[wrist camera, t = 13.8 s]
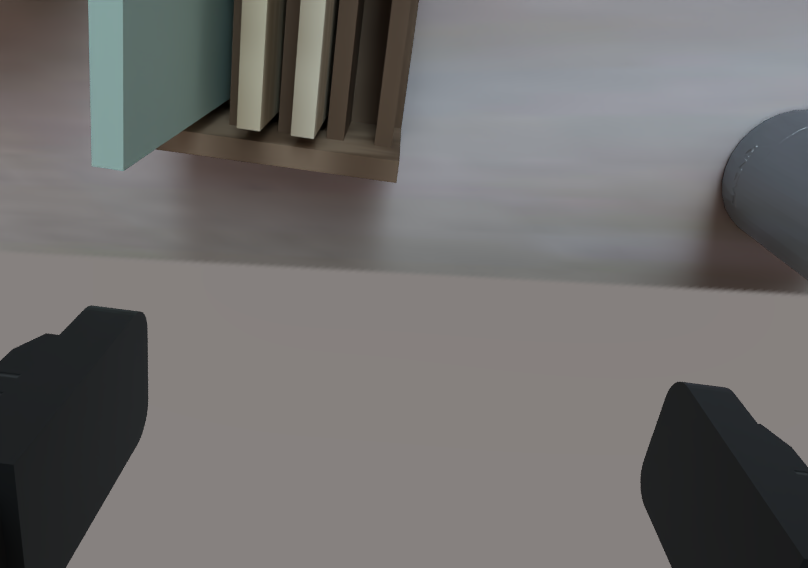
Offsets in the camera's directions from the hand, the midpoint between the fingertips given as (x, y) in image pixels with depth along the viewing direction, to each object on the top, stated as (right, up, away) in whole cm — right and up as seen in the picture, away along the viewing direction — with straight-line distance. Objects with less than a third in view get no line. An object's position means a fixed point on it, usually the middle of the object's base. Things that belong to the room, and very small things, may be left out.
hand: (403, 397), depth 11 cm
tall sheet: (-10, +19, +32) cm, 39 cm away
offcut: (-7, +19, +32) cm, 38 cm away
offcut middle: (-5, +18, +32) cm, 38 cm away
